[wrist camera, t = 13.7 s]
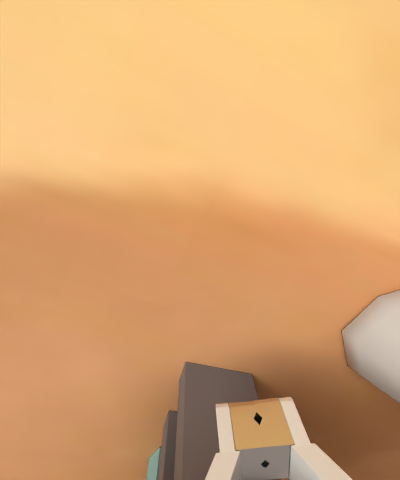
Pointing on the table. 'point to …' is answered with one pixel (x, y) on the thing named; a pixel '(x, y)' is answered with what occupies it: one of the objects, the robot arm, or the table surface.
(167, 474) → the domino
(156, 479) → the domino
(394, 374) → the flask
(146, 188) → the table surface
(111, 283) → the table surface
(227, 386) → the domino
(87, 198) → the table surface
